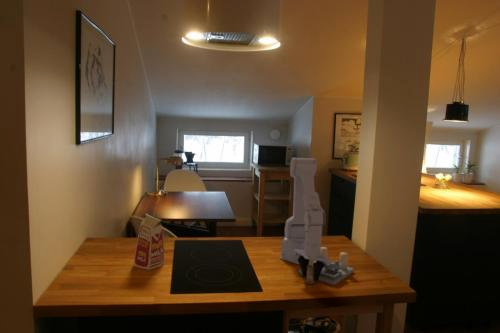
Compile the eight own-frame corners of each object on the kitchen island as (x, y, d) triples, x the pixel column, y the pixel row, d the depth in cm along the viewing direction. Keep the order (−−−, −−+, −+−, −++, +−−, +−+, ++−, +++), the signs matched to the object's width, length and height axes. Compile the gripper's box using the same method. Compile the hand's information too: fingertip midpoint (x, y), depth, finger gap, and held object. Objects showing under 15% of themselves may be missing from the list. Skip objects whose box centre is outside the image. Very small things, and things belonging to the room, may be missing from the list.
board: (298, 273, 143) (299, 254, 142) (319, 261, 156) (320, 244, 155) (334, 285, 133) (335, 265, 132) (353, 272, 146) (354, 253, 146)
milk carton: (133, 265, 143) (133, 215, 140) (149, 258, 151) (150, 210, 149) (150, 271, 138) (151, 219, 136) (167, 263, 147) (168, 214, 144)
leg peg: (304, 282, 135) (305, 266, 134) (308, 280, 137) (309, 264, 136) (311, 284, 133) (312, 268, 132) (315, 282, 135) (316, 266, 134)
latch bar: (341, 267, 141) (341, 263, 141) (339, 270, 139) (340, 265, 139) (318, 263, 145) (318, 258, 145) (316, 265, 143) (316, 260, 143)
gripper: (289, 240, 134) (287, 276, 136) (325, 250, 125) (323, 288, 127) (300, 236, 140) (297, 270, 142) (335, 245, 131) (332, 282, 133)
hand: (310, 278), depth 135 cm, fingers open, 4 cm apart
